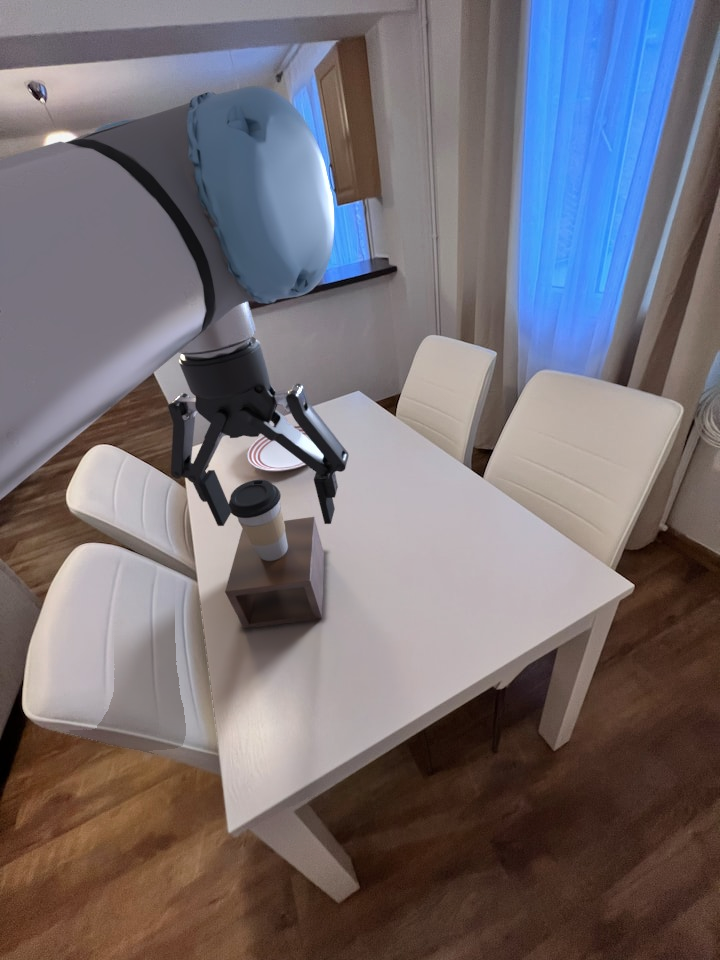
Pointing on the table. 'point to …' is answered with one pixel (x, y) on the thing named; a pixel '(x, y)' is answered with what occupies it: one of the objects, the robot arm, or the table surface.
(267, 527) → the coffee cup
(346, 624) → the table surface
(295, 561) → the wooden cubby box
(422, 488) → the table surface
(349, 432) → the table surface
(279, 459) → the dinner plate
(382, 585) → the table surface
